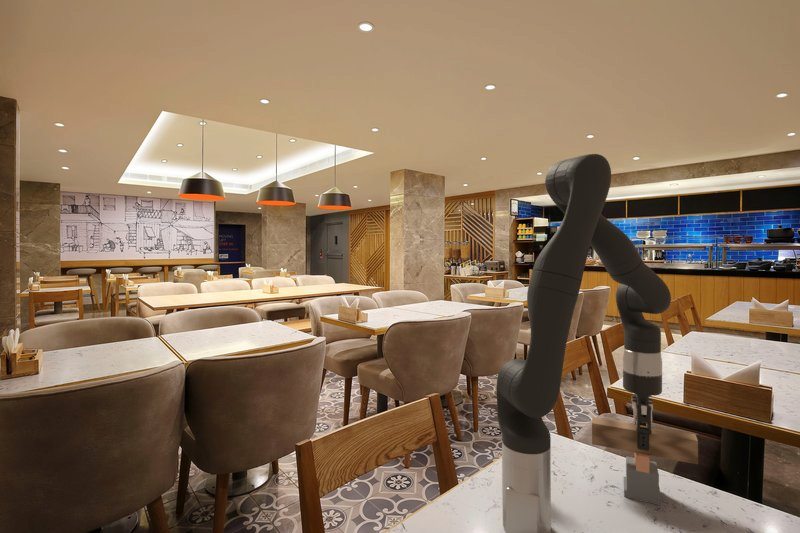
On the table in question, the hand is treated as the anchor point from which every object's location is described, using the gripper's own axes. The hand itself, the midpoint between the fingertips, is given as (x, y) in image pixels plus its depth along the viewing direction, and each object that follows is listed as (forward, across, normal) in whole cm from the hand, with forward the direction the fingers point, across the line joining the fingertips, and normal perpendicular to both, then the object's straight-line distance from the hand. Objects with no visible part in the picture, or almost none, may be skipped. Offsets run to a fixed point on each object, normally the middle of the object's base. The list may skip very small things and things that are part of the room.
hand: (641, 441), depth 90 cm
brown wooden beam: (+2, 0, 0) cm, 2 cm away
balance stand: (+12, 0, 0) cm, 12 cm away
